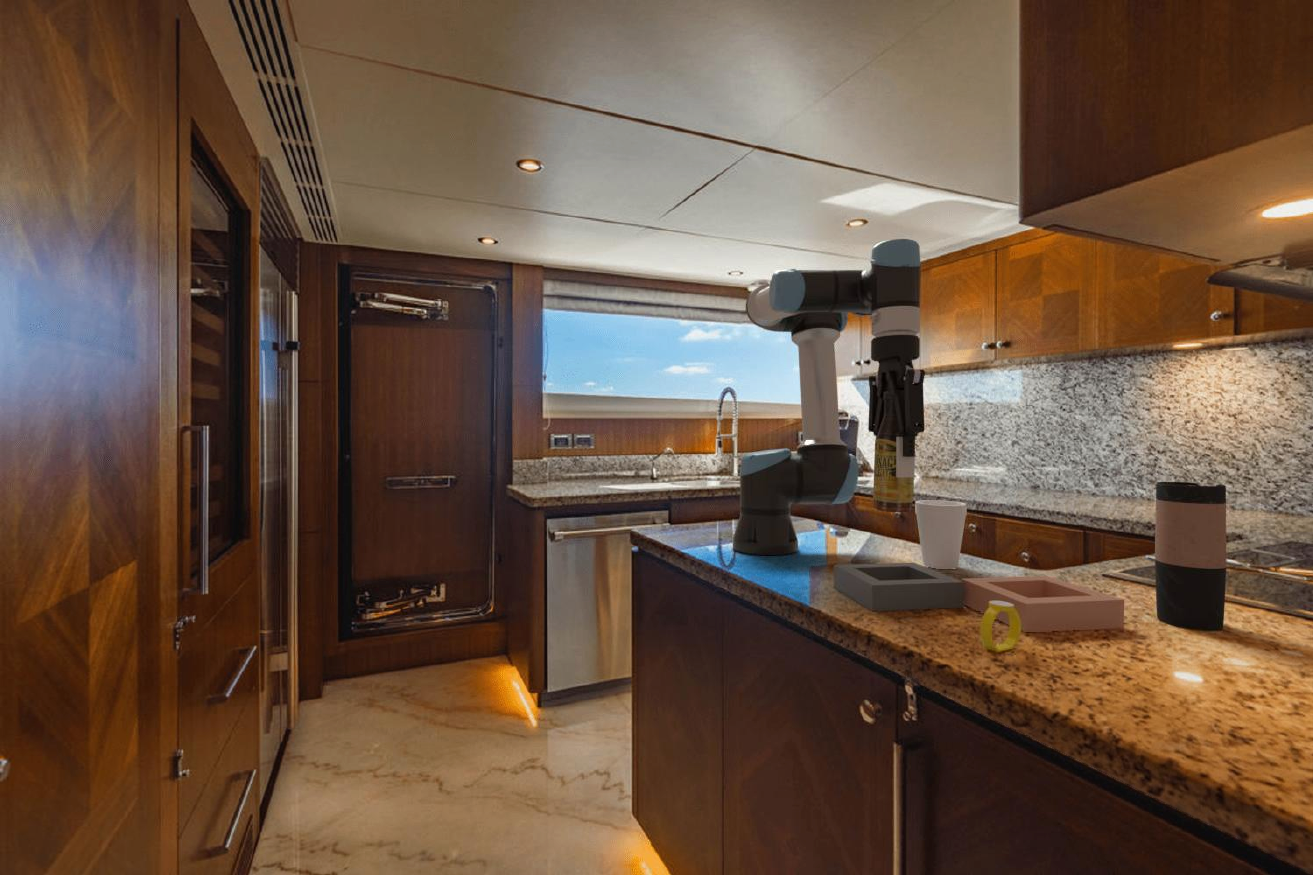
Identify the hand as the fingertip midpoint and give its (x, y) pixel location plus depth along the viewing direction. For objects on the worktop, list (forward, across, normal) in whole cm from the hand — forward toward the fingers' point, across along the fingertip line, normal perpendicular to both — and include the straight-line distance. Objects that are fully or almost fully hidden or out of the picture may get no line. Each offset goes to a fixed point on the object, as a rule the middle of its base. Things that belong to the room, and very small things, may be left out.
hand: (894, 475), depth 99 cm
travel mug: (+20, +18, +35) cm, 44 cm away
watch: (+20, +24, +1) cm, 32 cm away
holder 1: (+20, 0, 0) cm, 20 cm away
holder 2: (+20, +12, +16) cm, 29 cm away
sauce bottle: (+6, 0, 0) cm, 6 cm away
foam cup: (+21, -20, +21) cm, 35 cm away
